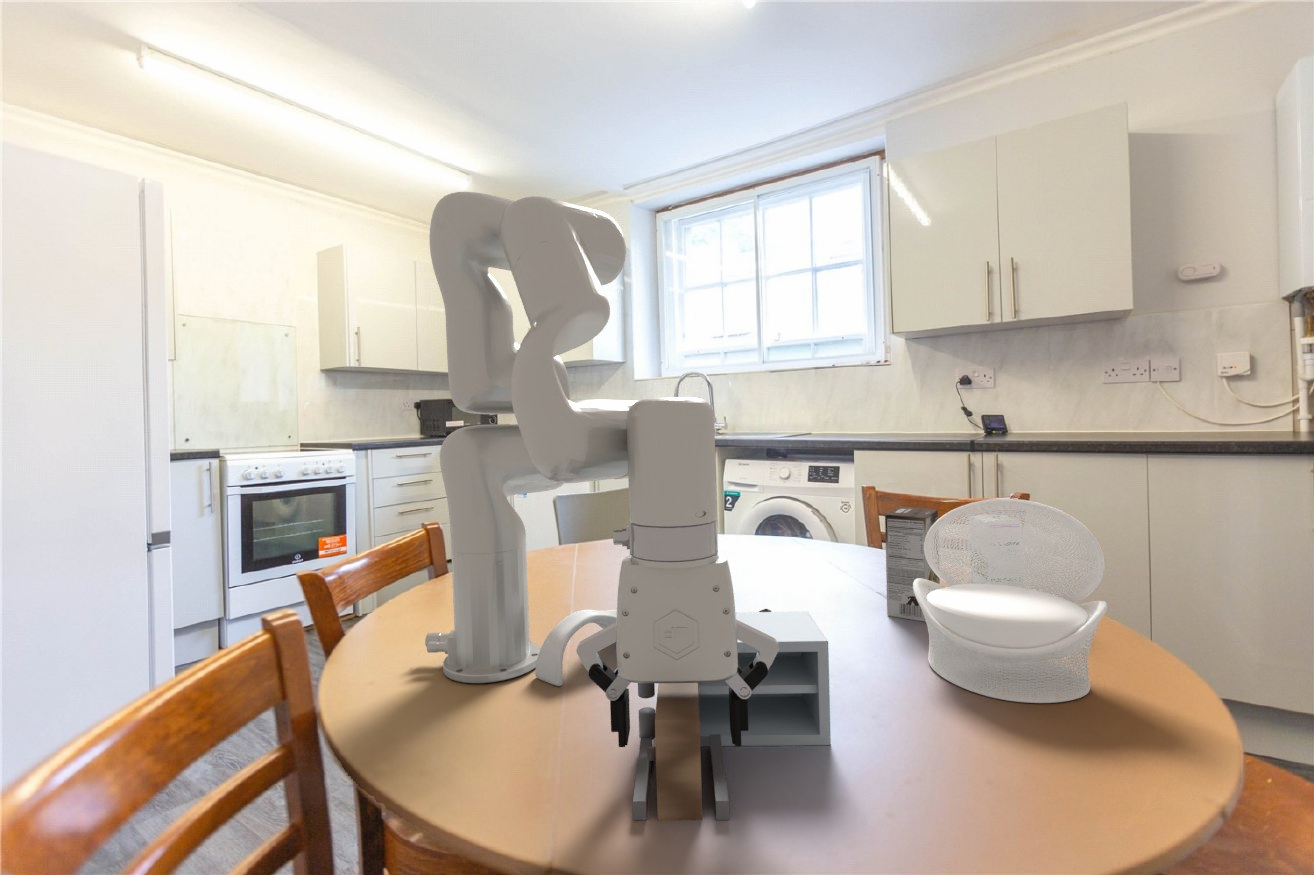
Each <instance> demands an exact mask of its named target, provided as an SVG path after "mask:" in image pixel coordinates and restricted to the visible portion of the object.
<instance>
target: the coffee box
mask: <svg viewBox="0 0 1314 875" xmlns="http://www.w3.org/2000/svg"><path fill="white" fill-rule="evenodd" d="M938 519H939V509H935V508H932V509H931V508H923V507H912V506H911V507H910V506H897V507H896V508H894V509H892V510H890V511H888V512H887V513H886V514H884V524H885V525H884V526H885V527H884V530H885V565H886V566H885V569H886V574H885V575H886V578H885V579H886V612H887V613H886V616H888V617H893V618H899V619H900V618H901V619H905V620H906V619H907V620H912V621H918V622H924V623H926V620H925V617H924V614H923V612H922V609H921V607H920V605H919V603H918V601H917V599H916V597H915V594H914V590H913V583H914V580H916V579H917V578H922V579H926V580H930V581H932V582H935V583H938V584H940V585H941V579H940V578H939V577H938V576H937V575H936V574H935V573H934V572H933V570H932V569H931V567H930V566H929V564H928V562H927V560H926V557H925V553H924V541H925V537H926V535H927V533H928V531H929V529H930V528H931V526H932V525H933V524H934V523H935V522H936V521H937V520H938ZM936 530H937V529H936ZM936 532H937V531H936ZM935 537H936V536H935ZM938 537H939V536H938ZM933 539H934V538H933ZM935 539H936V538H935ZM934 541H935V540H934ZM936 541H937V540H936ZM932 543H933V542H932ZM934 543H935V542H934ZM937 543H938V542H937ZM936 545H937V544H936ZM939 546H940V545H938V547H939ZM938 547H937V548H938ZM934 548H935V547H934ZM937 548H936V550H937ZM938 549H939V548H938ZM939 550H940V549H939ZM932 551H933V550H932ZM937 552H938V551H937ZM932 554H933V553H932ZM936 554H937V555H939V554H938V553H936ZM934 556H935V555H934ZM936 557H937V556H936ZM933 558H934V557H933ZM933 558H932V559H933ZM938 559H939V558H938ZM937 562H938V561H937ZM938 563H939V562H938ZM939 568H940V567H939ZM939 568H938V569H939ZM928 587H929V586H928ZM923 588H924V587H923ZM926 588H927V587H926ZM930 588H931V587H930ZM934 589H935V588H934ZM927 590H928V589H927ZM931 590H932V589H931ZM922 592H924V591H922ZM928 593H930V592H928ZM926 594H927V593H926ZM923 595H924V594H923ZM927 595H928V594H927ZM924 599H925V598H924ZM926 601H927V599H926Z"/></svg>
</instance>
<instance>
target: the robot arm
mask: <svg viewBox="0 0 1314 875" xmlns="http://www.w3.org/2000/svg"><path fill="white" fill-rule="evenodd" d="M625 240H626V239H625V237H624V234H623V232H622V229H621V227H620V226H619V224H618V223H617V221H615V219H614V218H613V217H611V216H610V215H609V214H607V213H605V212H603V211H601V210H597V209H593V208H589V207H586V206H582V205H579V204H575V203H571V202H566V201H563V200H559V199H555V198H552V197H546V196H534V195H533V196H526V197H522V198H519V199H516V200H512V199H508V198H506V197H499V196H496V195H492V194H487V193H483V192H482V193H480V192H475V191H474V192H473V191H457V192H450V193H449V194H447V195H444V196H443V197H442V198H441V199H439V201H437V203H436V204H435V207H434V209H433V211H432V215H431V218H430V225H429V250H430V251H429V253H430V258H431V259H430V260H431V263H432V268H433V271H434V275H435V278H436V281H437V284H438V287H439V288H438V289H439V290H440V293H441V298H442V300H443V305H444V312H445V313H444V315H445V333H446V334H445V336H446V338H445V339H446V354H447V355H446V356H447V372H448V373H447V374H448V385H449V386H448V387H449V393H450V396H451V400H452V403H453V404H454V406H455V407H456V408H457V409H458V410H460V411H461V412H463V413H469V414H475V415H476V414H477V415H514V416H515V419H516V422H517V424H514V423H513V424H510V423H506V424H505V423H502V424H501V423H499V424H495V423H494V424H475V425H469V426H464V427H461V428H458V429H456V430H454V431H452V432H451V433H450V434H448V435H447V437H445V439H444V440H443V442H442V444H441V447H440V451H439V464H440V465H439V466H440V472H441V476H442V480H443V485H444V490H445V491H444V492H445V494H446V502H447V506H448V516H449V529H450V550H451V573H452V574H451V575H452V600H453V601H452V602H453V625H454V626H453V629H454V630H450V632H448V633H447V632H446V633H444V632H427V634H426V636H425V641H424V645H425V647H426V651H427V653H431V654H432V653H434V654H435V653H441V652H442V653H444V654H445V655H447V656H446V657H445V658H444V660H443V662H442V670H443V671H442V672H443V674H444V675H445V676H446V677H447V678H449V679H450V680H453V681H455V682H460V683H467V684H486V683H489V684H490V683H495V682H496V683H497V682H502V681H508V680H511V679H514V678H517V677H520V676H523V675H524V674H527V673H529V672H530V671H532V670H534V669H536V662H537V658H538V655H539V652H540V649H541V646H540V645H538V644H537V643H535V642H533V641H532V640H531V637H530V636H531V634H530V616H529V615H530V613H529V612H530V609H529V582H528V581H529V580H528V578H529V577H528V554H527V553H528V552H527V551H528V550H527V533H526V527H525V524H524V521H523V520H522V517H520V515H519V513H518V512H517V511H516V509H514V507H513V506H512V505H511V502H510V501H509V499H508V497H510V496H515V495H523V494H532V493H541V492H549V491H554V490H557V489H559V488H561V487H562V486H563V485H564V484H577V483H579V484H581V483H587V482H595V481H605V480H622V479H628V508H629V513H628V514H629V523H628V524H627V525H626V527H622V528H621V529H619V528H618V529H613V533H612V541H613V545H614V546H622V547H626V550H629V555H626V556H625V557H624V558H623V559H622V561H621V563H620V564H621V565H620V571H619V576H618V577H619V578H618V583H617V584H618V585H617V596H616V597H617V600H616V601H617V602H616V609H617V622H615V623H613V624H612V625H610V626H608V627H606V628H604V629H603V628H602V629H600V630H599V631H597V632H595V633H592V634H591V635H590V636H588V637H586V638H583V639H581V641H579V643H578V645H577V648H576V654H577V656H578V658H579V660H580V662H581V663H582V665H583V667H584V669H586V671H587V673H588V674H587V675H588V677H589V679H591V681H592V682H593V683H595V685H597V687H598V688H600V689H601V691H603V692H604V693H605V697H606V699H608V700H609V703H610V704H609V705H610V706H609V708H610V711H609V712H610V731H611V733H617V734H618V735H617V736H618V738H617V739H618V747H619V748H626V746H628V743H629V739H630V738H629V736H630V733H631V732H630V731H631V719H630V718H631V716H630V714H631V713H630V688H628V687H629V686H630V684H631V683H634V684H638V683H654V684H658V683H710V682H722V681H725V682H726V683H727V684H728V685H729V686H730V687H729V710H730V731H731V737H732V743H733V744H735V746H734V747H742V746H741V731H748V698H749V697H750V696H751V694H752V691H753V689H754V688H755V687H756V686H757V685H758V684H759V683H760V682H761V681H762V680H763V679H764V678H765V677H766V676H767V675H768V670H769V668H770V666H771V665H772V663H773V661H774V659H775V657H776V655H777V653H778V651H779V645H778V643H777V641H776V639H775V638H773V637H771V636H769V635H767V634H765V633H763V632H761V631H759V630H757V629H755V628H753V627H751V626H749V625H747V624H745V623H743V622H741V621H739V620H736V613H737V612H736V604H735V596H734V595H735V593H734V586H733V581H732V575H731V574H732V573H731V569H730V565H729V564H730V563H729V561H728V558H727V557H726V556H725V555H724V554H723V553H722V552H719V538H718V534H719V533H718V532H719V531H718V530H719V529H718V510H717V508H718V507H717V506H718V505H717V504H718V503H717V472H716V471H717V470H716V436H715V414H714V411H713V408H712V406H711V404H710V403H709V402H708V401H707V400H705V399H703V398H701V397H700V398H699V397H690V396H685V397H683V396H681V397H680V396H679V397H678V396H676V397H674V396H673V397H671V396H670V397H652V398H645V399H639V400H636V399H633V400H632V399H631V400H630V399H625V400H624V399H603V398H602V399H598V398H597V399H594V398H592V399H583V398H582V399H579V398H575V399H572V398H571V388H570V378H569V374H568V370H567V368H566V365H565V363H564V361H563V360H562V358H561V355H562V354H565V353H567V352H570V351H572V350H574V349H577V348H579V347H581V346H583V345H586V344H587V343H588V342H590V341H591V340H593V339H594V338H596V337H597V336H598V335H600V333H601V332H602V331H603V330H604V328H605V327H606V325H607V324H608V322H609V319H610V317H611V316H610V314H611V306H610V303H609V300H608V297H607V295H606V293H605V291H604V288H603V286H605V285H608V284H610V283H612V282H614V280H616V279H617V278H618V277H619V275H620V274H621V273H622V270H623V268H624V266H625V262H626V256H627V255H626V254H627V247H626V246H627V245H626V241H625ZM489 268H491V269H492V268H493V269H499V270H505V271H509V272H511V275H512V277H513V280H514V282H515V286H516V289H517V291H518V294H519V298H520V300H521V303H522V305H523V309H524V312H525V314H526V317H527V320H528V322H529V325H530V328H529V329H528V331H527V333H526V334H525V336H524V337H523V338H522V341H521V342H520V344H519V343H517V342H516V339H515V333H514V332H515V331H514V313H513V308H512V305H511V302H510V301H509V298H508V297H507V295H506V293H505V292H504V290H503V289H502V287H501V286H500V284H499V283H498V281H497V279H495V278H494V277H493V276H492V275H491V273H490V272H489ZM737 639H738V640H740V641H742V642H744V643H746V644H748V645H750V646H752V647H754V648H756V649H758V652H757V655H756V657H755V658H754V659H753V660H752V661H751V662H750V663H749V664H748V665H747V666H746V667H745V669H744V670H742V669H741V668H740V666H739V665H738V641H737ZM530 640H531V641H530ZM613 644H615V646H616V647H615V648H616V650H615V651H616V652H615V653H616V669H615V670H614V671H613V670H612V669H611V667H609V666H608V665H607V664H606V663H605V661H603V660H602V659H601V658H600V655H599V653H598V652H600V651H602V650H603V649H606V648H607V647H609V646H612V645H613Z"/></svg>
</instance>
